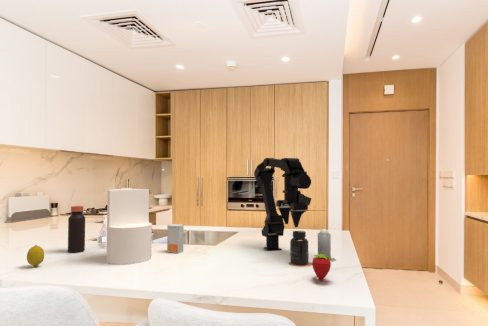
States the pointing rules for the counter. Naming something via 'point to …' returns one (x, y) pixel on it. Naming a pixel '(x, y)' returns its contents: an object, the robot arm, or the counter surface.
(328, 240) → the grey tube
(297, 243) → the supplement bottle
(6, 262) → the counter surface
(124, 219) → the white stepped holder
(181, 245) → the skincare box
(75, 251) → the vinegar
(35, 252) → the lemon
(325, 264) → the strawberry
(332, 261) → the card
